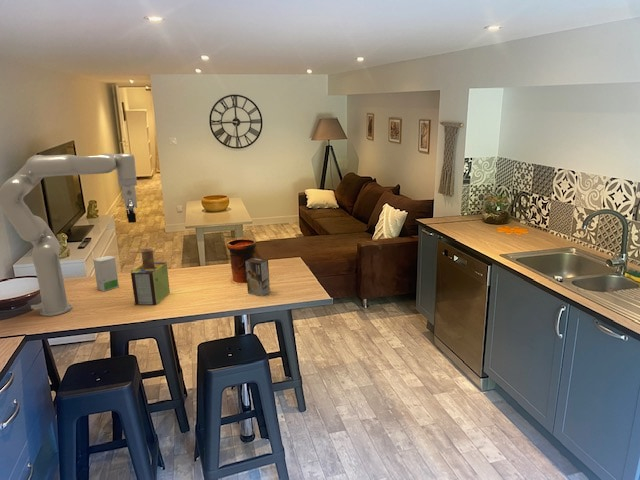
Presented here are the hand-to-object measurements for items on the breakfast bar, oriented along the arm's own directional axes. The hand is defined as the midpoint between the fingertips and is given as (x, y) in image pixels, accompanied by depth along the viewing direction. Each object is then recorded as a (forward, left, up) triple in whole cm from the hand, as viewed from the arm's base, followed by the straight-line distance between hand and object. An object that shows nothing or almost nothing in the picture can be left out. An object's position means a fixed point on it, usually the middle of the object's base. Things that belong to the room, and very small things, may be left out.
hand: (131, 220), depth 214 cm
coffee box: (+50, -21, -37) cm, 66 cm away
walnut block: (+4, -4, -22) cm, 22 cm away
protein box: (+5, -4, -37) cm, 38 cm away
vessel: (+49, 0, -37) cm, 62 cm away
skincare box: (-14, +21, -37) cm, 45 cm away
